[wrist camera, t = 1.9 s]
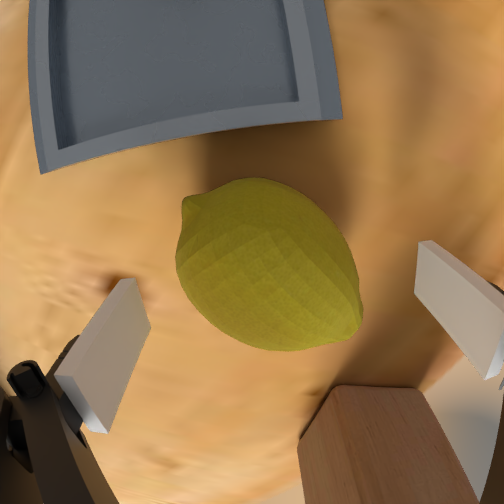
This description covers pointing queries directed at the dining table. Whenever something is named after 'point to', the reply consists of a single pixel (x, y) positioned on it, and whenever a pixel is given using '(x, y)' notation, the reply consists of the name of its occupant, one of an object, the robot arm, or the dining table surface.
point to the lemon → (268, 266)
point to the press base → (172, 71)
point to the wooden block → (379, 451)
